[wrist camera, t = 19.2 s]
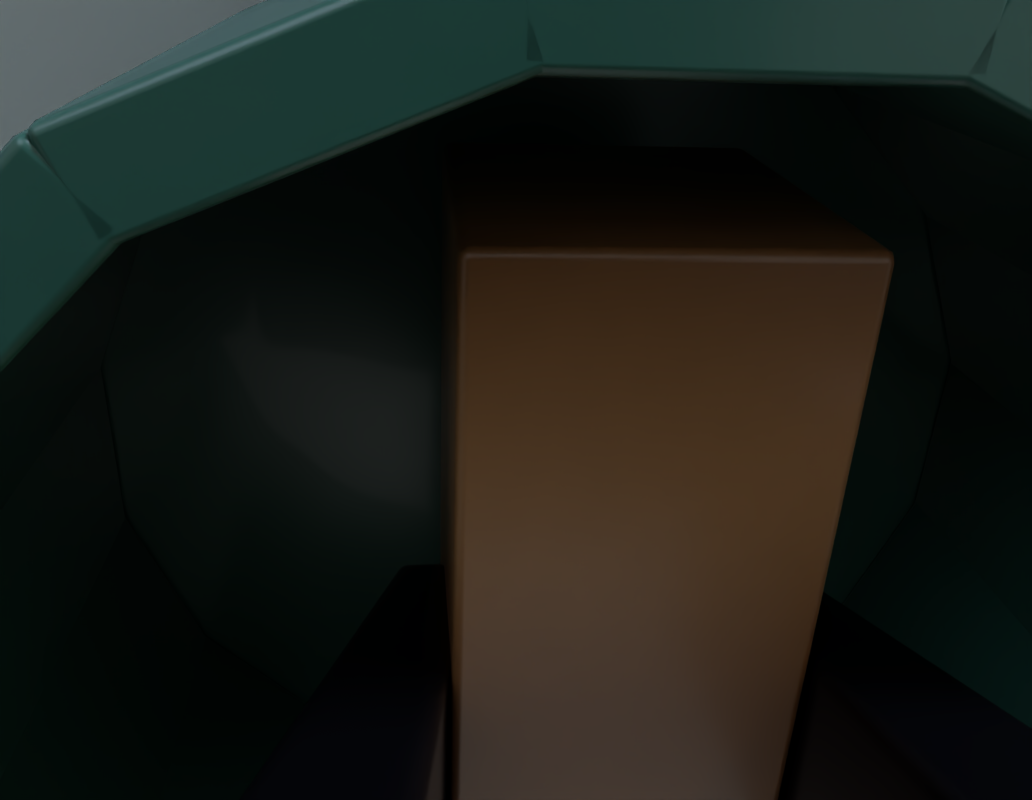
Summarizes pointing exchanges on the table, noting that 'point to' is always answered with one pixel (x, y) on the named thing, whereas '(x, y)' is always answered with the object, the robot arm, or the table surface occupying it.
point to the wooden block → (640, 462)
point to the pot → (417, 338)
